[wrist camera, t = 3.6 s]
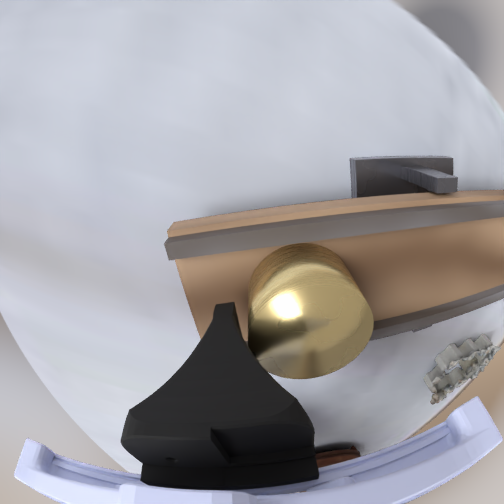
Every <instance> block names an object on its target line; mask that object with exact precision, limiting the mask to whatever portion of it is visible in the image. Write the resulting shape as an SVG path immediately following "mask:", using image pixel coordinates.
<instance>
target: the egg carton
mask: <svg viewBox="0 0 504 504" xmlns="http://www.w3.org/2000/svg"><path fill="white" fill-rule="evenodd" d="M500 349H501V348H500V347H498V346H493V344H492V342H491V341H490V340H489V339H488V337H487V336H486V335H485V334H482V335H480V337H479V338H478V339H477V340H476V341H475V342H473V341H472V340H471V338H469V339H466V340H465V342H464V343H463V344H462V345H461V346H460V347H458V348H457V346H456V345H455V344H454V343H452V344H450V345H448V347H447V348H446V349H445V350H444V351H443V352H441V353H440V354H438V355H437V357H436V358H435V361H436V363H437V366H436V367H435V368H434V369H433V370H432V371H430V372H429V373H427V374H426V375H425V376H424V378H423V379H424V381H425V383H426V384H427V386H428V387H429V389H430V390H431V392H432V393H435V394H433V395H432V399H431V401H430V403H431V404H435V403H439V402H440V401H443V399H444V398H446V394H447V393H451V392H453V390H454V388H457V387H460V386H461V385H462V384H463V383H465V382H466V381H467V380H468V379H469V378H471V379H474V378H477V373H478V372H479V370H481V371H484V367H485V366H487V365H488V363H489V362H490V360H491V359H493V356H494V355H495V353H496V352H497V351H499V350H500ZM457 363H459V364H460V366H461V367H462V368H463V369H462V370H460V368H459V367H458V368H455V369H454V370H452V371H451V372H450V373H449V374H448V375H446V376H445V370H446V369H448V370H450V369H451V368H453V367H455V365H456V364H457Z"/></svg>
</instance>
